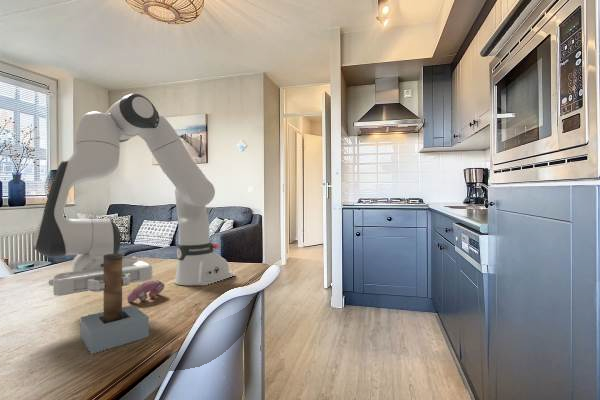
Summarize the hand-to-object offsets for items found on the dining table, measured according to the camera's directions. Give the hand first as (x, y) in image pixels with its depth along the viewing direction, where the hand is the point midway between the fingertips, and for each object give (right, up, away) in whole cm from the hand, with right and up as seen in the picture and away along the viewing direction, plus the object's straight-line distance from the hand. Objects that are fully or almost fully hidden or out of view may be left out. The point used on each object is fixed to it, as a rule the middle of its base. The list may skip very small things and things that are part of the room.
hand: (114, 284), depth 68 cm
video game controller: (-6, -12, +26) cm, 30 cm away
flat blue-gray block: (0, -12, +1) cm, 12 cm away
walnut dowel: (-1, -8, +1) cm, 9 cm away
